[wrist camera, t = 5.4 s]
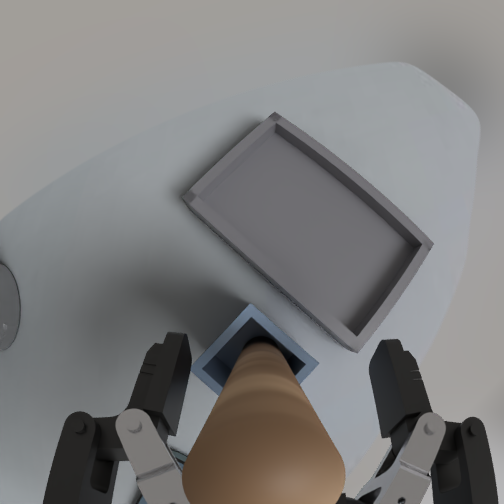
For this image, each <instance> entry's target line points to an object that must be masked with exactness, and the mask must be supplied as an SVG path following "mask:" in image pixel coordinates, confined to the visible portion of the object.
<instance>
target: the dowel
mask: <svg viewBox="0 0 504 504" xmlns="http://www.w3.org/2000/svg"><path fill="white" fill-rule="evenodd" d="M344 483H345V467H344V462H343V460H342V457H341V455H340V454H339V452H338V450H337V449H336V447H335V445H334V443H333V442H332V440H331V438H330V437H329V435H328V433H327V431H326V430H325V428H324V426H323V425H322V423H321V421H320V419H319V418H318V416H317V414H316V412H315V411H314V409H313V407H312V405H311V404H310V402H309V400H308V398H307V397H306V395H305V393H304V391H303V390H302V388H301V386H300V384H299V383H298V381H297V379H296V377H295V376H294V374H293V372H292V370H291V368H290V367H289V365H288V363H287V361H286V359H285V358H284V356H283V354H282V352H281V351H280V349H279V347H278V345H277V344H276V342H275V341H273V340H272V339H270V338H268V337H265V336H257V337H254V338H252V339H250V340H249V341H248V342H247V343H246V344H245V345H244V347H243V349H242V351H241V353H240V355H239V357H238V359H237V361H236V363H235V365H234V367H233V369H232V371H231V373H230V375H229V377H228V379H227V381H226V383H225V385H224V387H223V389H222V391H221V393H220V395H219V397H218V399H217V401H216V403H215V405H214V407H213V409H212V411H211V413H210V415H209V417H208V419H207V421H206V423H205V425H204V427H203V428H202V430H201V432H200V434H199V436H198V438H197V440H196V442H195V444H194V445H193V447H192V449H191V451H190V453H189V455H188V457H187V459H186V461H185V463H184V467H183V470H182V486H183V489H184V493H185V495H186V497H187V499H188V501H189V503H190V504H335V503H336V502H337V501H338V499H339V497H340V495H341V493H342V490H343V487H344Z"/></svg>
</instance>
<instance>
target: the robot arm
mask: <svg viewBox="0 0 504 504" xmlns="http://www.w3.org/2000/svg"><path fill="white" fill-rule="evenodd" d="M19 317H20V304H19V295H18V289H17V286H16V283H15V279H14V277H13V275H12V274H11V272H10V271H9V269H8V268H7V267H5V266H4V265H2V264H0V351H1V350H5V349H6V348H8V347H9V346H10V345H11V343H12V342H13V340H14V338H15V336H16V333H17V329H18V325H19ZM191 364H192V356H191V351H190V347H189V342H188V337H187V334H183V333H175V332H168V333H167V335H166V337H165V340H164V343H163V344H159V343H155V344H154V345H153V346H152V347H151V348H150V349H149V350H148V351H147V353H146V356H145V359H144V361H143V365H142V367H141V370H140V374H139V375H138V378H137V381H136V384H135V387H134V390H133V393H132V396H131V399H130V402H129V404H128V406H127V408H126V409H125V410H124V411H123V412H122V413H121V414H119V415H117V416H114V417H103V418H92V417H91V416H90V415H89V414H87V413H85V412H75V413H72V414H71V415H69V416H68V418H67V419H66V421H65V423H64V426H63V430H62V433H61V436H60V439H59V442H58V446H57V449H56V452H55V456H54V459H53V463H52V467H51V471H50V474H49V478H48V483H47V487H46V491H45V496H44V500H43V504H111V503H112V497H113V491H114V486H115V480H116V475H117V470H118V465H119V461H130V463H131V465H132V467H133V469H134V471H135V474H136V477H137V478H136V481H137V484H138V487H139V489H140V491H141V493H142V495H143V497H144V498H145V500H146V502H147V504H190V503H189V501H188V499H187V497H186V495H185V493H184V489H183V486H182V468H181V467H180V465H179V463H178V462H177V460H176V458H175V457H174V455H173V453H172V451H171V450H170V448H169V446H168V444H167V438H168V435H171V436H176V433H177V429H178V424H179V419H180V415H181V410H182V406H183V401H184V397H185V392H186V388H187V384H188V379H189V375H190V371H191ZM369 375H370V379H371V384H372V389H373V393H374V398H375V403H376V409H377V414H378V419H379V425H380V430H381V436H382V438H388V437H390V438H391V443H392V444H391V445H390V447H389V449H388V451H387V453H386V454H385V456H384V458H383V460H382V461H381V463H380V465H379V466H378V468H377V470H376V471H375V473H374V474H373V476H372V478H371V479H370V480H369V481H368V482H367V483H366V484H365V485H364V487H363V488H362V489H361V490H360V492H359V493H358V494H357V496H356V497H355V499H353V498H349V497H346V495H345V493H342V494H341V495H340V497H339V499H338V501H337V502H336V503H335V504H420V503H421V501H422V499H423V497H424V495H425V493H426V491H427V489H428V487H429V485H430V482H431V480H432V490H433V501H434V504H498V495H497V487H496V481H495V474H494V468H493V463H492V457H491V453H490V448H489V443H488V439H487V435H486V431H485V427H484V425H483V423H482V421H481V420H479V419H478V418H476V417H469V418H467V419H466V420H465V421H464V422H462V423H456V422H447V421H444V420H443V419H442V417H440V416H439V415H438V414H436V413H433V411H432V409H431V406H430V403H429V399H428V396H427V393H426V390H425V387H424V383H423V380H422V377H421V374H420V372H419V368H418V365H417V362H416V359H415V358H414V357H413V356H412V355H411V353H410V352H409V351H404V350H403V347H402V345H401V342H400V340H398V339H390V340H381V341H380V343H379V345H378V347H377V349H376V351H375V353H374V355H373V357H372V359H371V361H370V364H369ZM429 471H431V476H430V475H429Z"/></svg>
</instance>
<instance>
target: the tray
mask: <svg viewBox="0 0 504 504" xmlns="http://www.w3.org/2000/svg"><path fill="white" fill-rule="evenodd" d="M182 199H183V200H184V202H185V203H186V205H187V206H188V208H189V209H190V210H191V211H192V212H193V213H194V214H195V215H197V216H198V217H199V218H200V219H201V220H202V221H203V222H204V223H205V224H207V225H208V226H209V227H210V228H211V229H212V230H213V231H214V232H215V233H216V234H218V235H219V236H220V237H221V238H222V239H223V240H224V241H225V242H226V243H228V244H229V245H230V246H231V247H232V248H233V249H234V250H235V251H237V252H238V253H239V254H240V255H241V256H242V257H243V258H244V259H245V260H247V261H248V262H249V263H250V264H251V265H252V266H253V267H254V268H256V269H257V270H258V271H259V272H260V273H261V274H262V275H263V276H264V277H266V278H267V279H268V280H269V281H270V282H271V283H272V284H273V285H275V286H276V287H277V288H278V289H279V290H280V291H281V292H282V293H284V294H285V295H286V296H287V297H288V298H289V299H290V300H292V301H293V302H294V303H295V304H296V305H297V306H298V307H299V308H301V309H302V310H303V311H304V312H305V313H306V314H307V315H308V316H310V317H311V318H312V319H313V320H314V321H315V322H316V323H318V324H319V325H320V326H321V327H322V328H323V329H324V330H326V331H327V332H328V333H329V334H330V335H331V336H332V337H334V338H335V339H336V340H337V341H338V342H339V343H340V344H342V345H343V346H344V347H345V348H346V349H347V350H350V351H352V352H355V353H358V352H359V351H360V350H361V349H362V347H363V346H364V345H365V344H366V342H367V341H368V340H369V339H370V337H371V336H372V335H373V334H374V332H375V331H376V330H377V328H378V327H379V326H380V324H381V323H382V322H383V320H384V319H385V318H386V316H387V315H388V314H389V312H390V311H391V309H392V308H393V307H394V305H395V304H396V302H397V301H398V299H399V298H400V297H401V295H402V294H403V292H404V291H405V289H406V288H407V286H408V285H409V283H410V282H411V280H412V279H413V277H414V276H415V274H416V272H417V271H418V269H419V268H420V266H421V264H422V263H423V261H424V260H425V258H426V256H427V255H428V253H429V251H430V250H431V248H432V246H433V244H434V243H433V242H432V241H431V240H430V239H429V238H428V237H427V236H426V235H425V234H424V233H423V232H422V231H421V230H420V229H419V228H418V227H417V226H416V225H415V224H414V223H413V222H412V221H411V220H410V219H409V218H408V217H407V216H406V215H405V214H404V213H403V212H402V211H401V210H399V209H398V208H397V207H396V206H395V205H394V204H393V203H392V202H391V201H390V200H389V199H387V198H386V197H385V196H384V195H383V194H382V193H381V192H380V191H378V190H377V189H376V188H375V187H374V186H373V185H372V184H370V183H369V182H368V181H367V180H366V179H364V178H363V177H362V176H361V175H360V174H358V173H357V172H356V171H355V170H354V169H352V168H351V167H350V166H349V165H347V164H346V163H345V162H344V161H342V160H341V159H340V158H339V157H337V156H336V155H335V154H333V153H332V152H331V151H329V150H328V149H327V148H325V147H324V146H323V145H321V144H320V143H319V142H317V141H316V140H315V139H313V138H312V137H311V136H309V135H308V134H306V133H305V132H304V131H302V130H301V129H299V128H298V127H297V126H295V125H294V124H292V123H291V122H289V121H288V120H286V119H285V118H283V117H282V116H280V115H279V114H277V113H276V112H274V113H273V114H271V115H270V116H269V117H268V118H267V119H265V120H264V121H263V122H262V123H261V124H260V125H258V126H257V127H256V128H255V129H254V130H253V131H252V132H250V133H249V134H248V135H247V136H246V137H245V138H244V139H242V140H241V141H240V142H239V143H238V144H237V145H236V146H235V147H234V148H233V149H231V150H230V151H229V152H228V153H227V154H226V155H225V156H224V157H223V158H222V159H221V160H219V161H218V162H217V163H216V164H215V165H214V166H213V167H212V168H211V169H210V170H209V171H208V172H207V173H206V174H205V175H204V176H203V177H202V178H201V179H200V180H199V181H198V182H197V183H195V184H194V185H193V186H192V187H191V188H190V189H189V190H188V191H187V192H186V193H185V194H184V195H183V196H182Z"/></svg>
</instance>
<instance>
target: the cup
mask: <svg viewBox="0 0 504 504" xmlns="http://www.w3.org/2000/svg"><path fill="white" fill-rule="evenodd" d="M257 336H265V337H268V338H270V339H272V340H273V341H275V342H276V344H277V345H278V347H279V349H280V351H281V352H282V354H283V356H284V358H285V359H286V361H287V363H288V365H289V367H290V368H291V370H292V372H293V374H294V376H295V377H296V379H297V381H298V383H299V384H301V383H302V382H303V380H304V379H305V378H306V377H307V376H308V375H309V374H310V373H311V372H312V371H313V370H314V369H315V367H316V366H317V365H318V364H319V362H318V361H316V360H315V359H314V358H313V357H312V356H311V355H309V354H308V353H307V352H306V351H305V350H304V349H302V348H301V347H300V346H299V345H298V344H297V343H295V342H294V341H293V340H292V339H291V338H290V337H288V336H287V335H286V334H285V333H284V332H283V331H282V330H280V329H279V328H278V327H277V326H276V325H275V324H274V323H273V322H271V321H270V320H269V319H268V318H267V317H266V316H265V315H264V314H262V313H261V312H260V311H259V310H258V309H257V308H256V307H255V306H254V305H252V304H251V303H250V304H249V305H248V306H247V307H246V308H245V309H244V311H243V312H242V313H241V314H240V315H239V316H238V317H237V318H236V319H235V320H234V321H233V322H232V323H231V325H230V326H229V327H228V328H227V329H226V330H225V331H224V332H223V333H222V334H221V335H220V336H219V337H218V338H217V339H216V341H215V342H214V343H213V344H212V345H211V346H210V347H209V348H208V349H207V350H206V351H205V352H204V353H203V354H202V355H201V356H200V357H199V358H198V359H197V360H196V362H195V363H194V364H193V365H192V366H191V371H192V372H193V373H194V374H195V375H196V376H197V377H198V378H199V379H200V380H201V381H203V382H204V383H205V384H206V385H207V386H208V387H209V388H210V389H212V390H213V391H214V392H215V393H216V394H217V395H218V396H219V395H220V393H221V391H222V389H223V387H224V385H225V383H226V381H227V379H228V377H229V375H230V373H231V371H232V369H233V367H234V365H235V363H236V361H237V359H238V357H239V355H240V353H241V351H242V349H243V347H244V345H245V344H246V343H247V342H248V341H249V340H250V339H252V338H254V337H257Z"/></svg>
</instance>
